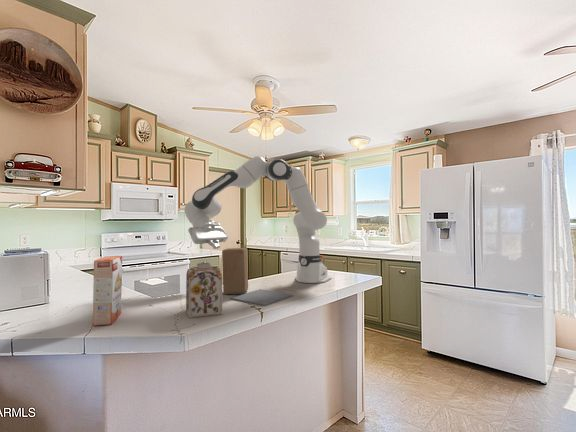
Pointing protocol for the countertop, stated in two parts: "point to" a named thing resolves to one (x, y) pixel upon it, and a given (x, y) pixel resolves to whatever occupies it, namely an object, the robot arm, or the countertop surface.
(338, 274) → the countertop surface
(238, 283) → the wooden block
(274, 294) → the charcoal rubber mat
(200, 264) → the decorative jar
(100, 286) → the cracker box
